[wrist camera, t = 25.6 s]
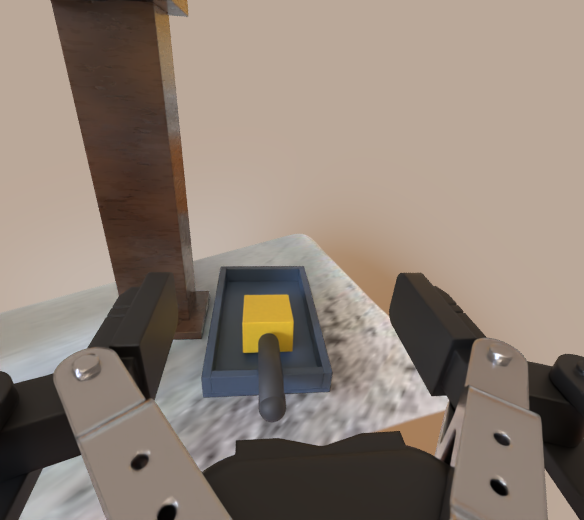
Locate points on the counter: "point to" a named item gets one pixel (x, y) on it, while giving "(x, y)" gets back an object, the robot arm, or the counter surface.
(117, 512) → the robot arm
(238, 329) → the tray
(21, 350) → the counter surface
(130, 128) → the wooden pedestal stand
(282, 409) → the sponge brush
